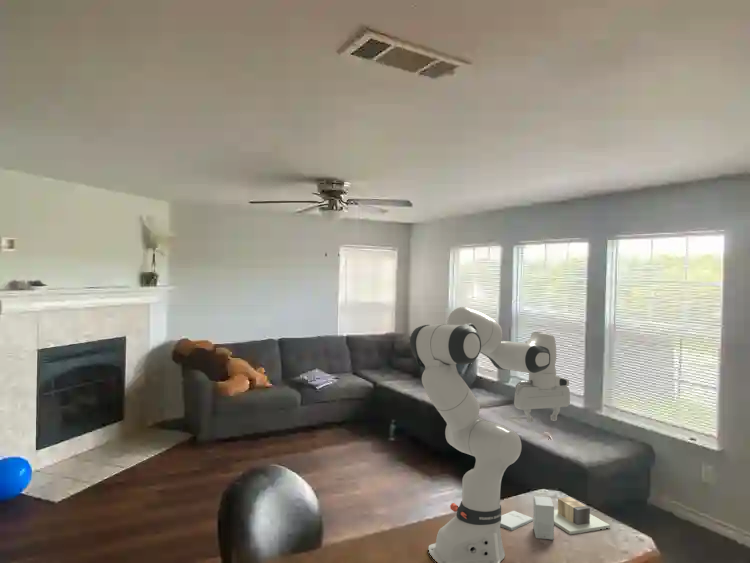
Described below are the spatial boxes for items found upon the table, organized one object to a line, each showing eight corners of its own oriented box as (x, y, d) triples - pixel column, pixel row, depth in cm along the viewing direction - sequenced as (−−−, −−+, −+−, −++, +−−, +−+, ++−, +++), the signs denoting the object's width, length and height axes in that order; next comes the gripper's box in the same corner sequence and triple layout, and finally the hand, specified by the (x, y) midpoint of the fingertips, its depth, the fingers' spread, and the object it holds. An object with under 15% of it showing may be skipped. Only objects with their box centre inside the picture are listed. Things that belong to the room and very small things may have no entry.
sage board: (570, 534, 173) (570, 531, 173) (539, 514, 188) (539, 511, 188) (609, 528, 178) (610, 525, 178) (576, 509, 193) (577, 506, 193)
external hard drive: (490, 524, 181) (512, 514, 189) (511, 532, 174) (533, 522, 182) (490, 519, 181) (512, 509, 189) (511, 527, 174) (533, 517, 183)
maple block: (557, 513, 187) (577, 525, 177) (557, 498, 187) (577, 509, 177) (569, 511, 188) (589, 523, 179) (569, 497, 188) (589, 508, 179)
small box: (553, 540, 168) (554, 506, 168) (535, 538, 169) (535, 504, 170) (550, 529, 176) (551, 497, 176) (533, 527, 177) (533, 495, 177)
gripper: (521, 382, 175) (520, 425, 175) (573, 380, 182) (572, 421, 182) (510, 379, 181) (510, 421, 181) (560, 377, 188) (560, 417, 188)
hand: (541, 421), depth 181 cm, fingers open, 8 cm apart
